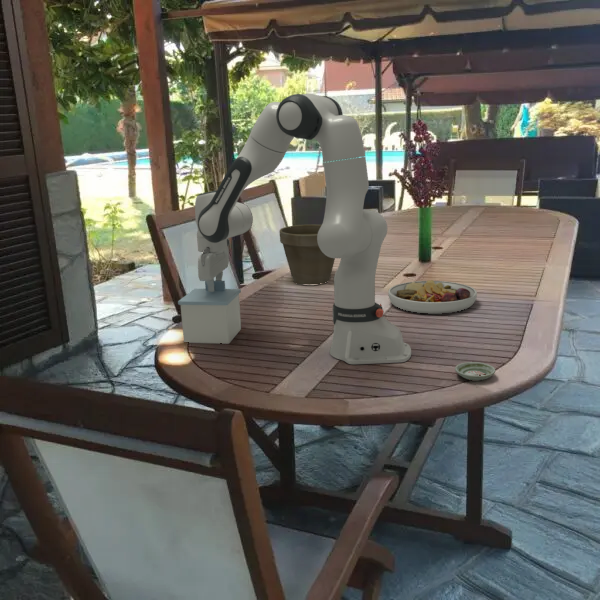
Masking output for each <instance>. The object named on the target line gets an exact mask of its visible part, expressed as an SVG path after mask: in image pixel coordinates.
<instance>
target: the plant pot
mask: <svg viewBox="0 0 600 600" xmlns="http://www.w3.org/2000/svg"><path fill="white" fill-rule="evenodd" d="M321 226H322V224H297V225H291V226H290V225H289V226H285V227H284V226H283V227H282V228H280V229H279V232H278V233H279V242H280V243H281V244H282V246H283V247H282V248H283V251H284V255H285V257H286V260H287V261H286V262H287V265H288V268H289V272H290V274H291V277H292V281H293V283H294V284H296V283H297V284H296V285H299V284H320V283H325V282H327V281H330V279H331V276H332V272H333V270H334V269H333V268H334V264H335V261H336V258H330V257H328V256H326V255H325V254H324V253H323V252H322V251H321V250H320V248H319V246H318V242H317V235H318V231H319V229H320V227H321ZM327 283H328V282H327ZM325 284H326V283H325Z"/></svg>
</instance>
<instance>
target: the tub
mask: <svg viewBox="0 0 600 600" xmlns="http://www.w3.org/2000/svg"><path fill="white" fill-rule="evenodd" d="M240 308H241V307H240V293H239V294H238V295H237V296H236V297H235V298H234V299H233V300H232V301H231V302H230V303H229V304H228V305H180V313H181V324H182V333H183V334H182V336H183V338H182V339H183V343H184V342H189V344H190V343H191V344H220V343H222V344H225V345H226V344H227V345H229V344H230V343H231V342H232V341H233V339H234V338H235V337H236V336H237V335H238V333H239V332H240V331H241V330H242V320H241V309H240Z"/></svg>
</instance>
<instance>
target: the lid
mask: <svg viewBox="0 0 600 600" xmlns="http://www.w3.org/2000/svg"><path fill="white" fill-rule="evenodd" d="M213 282H214V285H215V291H214V292H209V291H208V285H207V283H206V281H204V284H205V285H204V286H205V288H194V289H192V290H191V291H189V293H187V294H186V295H185V296H183V297H181V298H180V299H179V300H177V304H178V305H179V306H181V305H228V304H229V303H230V302H231V301H232V300H233V299H234V298H235V297H236V296H237V295H238V294H239V295H240V293H241V288H226V283H225V280H222V281H215V280H214V281H213Z"/></svg>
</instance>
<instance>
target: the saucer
mask: <svg viewBox="0 0 600 600" xmlns="http://www.w3.org/2000/svg"><path fill="white" fill-rule="evenodd" d="M454 370H455V372H456V373H457V375H459V376H460V377H462V378H464V379H466V380H468V379H470V380H469V381H471V380H482V381H484V380H486V379H489V378H491V377H492V376H493V375H495V373H496V368H495V367H494V366H493V365H490V364H488V363H484V362H478V361H468V362H462V363H458V364H457V365H456V366H455V367H454ZM469 371H470V373H468V372H469ZM471 371H473V373H472V372H471ZM474 371H476V372H477V371H480V372H482V373H485V374H486V375H482V374H481V376H479V374H478V373H477V374H478V375H477V374H476V373H475V372H474ZM483 379H484V380H483Z"/></svg>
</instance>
